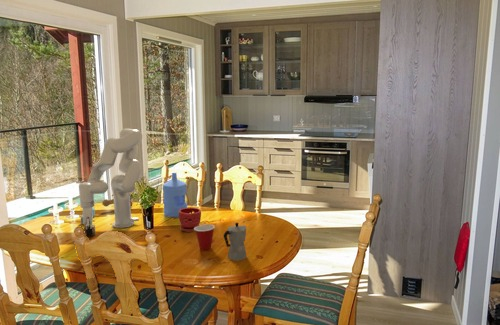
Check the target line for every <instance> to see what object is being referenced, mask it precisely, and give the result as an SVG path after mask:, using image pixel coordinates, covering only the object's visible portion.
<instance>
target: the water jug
mask: <svg viewBox="0 0 500 325" xmlns="http://www.w3.org/2000/svg"><path fill="white" fill-rule="evenodd" d="M177 177H178V175H177V172H172V173H171V179H169V180H168V181H167V182H164V183H162V194H163V195H162V197H163V198H162V199H163V200H162V201H163V215H164V217H168V218H179V210H181V209H184V208H188V202H186V195H187V194H188V191H187V188H188V186H187V183H186V182H185V181H182V180H180V179H178V178H177Z"/></svg>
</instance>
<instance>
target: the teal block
mask: <svg viewBox="0 0 500 325" xmlns="http://www.w3.org/2000/svg"><path fill="white" fill-rule="evenodd" d="M92 208H93V218H95V217H96V216H95V215H96V211H95V209H96V208H95V206H94V207H92Z"/></svg>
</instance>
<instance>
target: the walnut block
mask: <svg viewBox="0 0 500 325" xmlns="http://www.w3.org/2000/svg"><path fill="white" fill-rule="evenodd" d="M89 226H90V225H89ZM83 228H84V229H83V232H84V231H85V234H86V225H83ZM91 229H92V236H96V224H92V225H91Z"/></svg>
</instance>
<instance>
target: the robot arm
mask: <svg viewBox="0 0 500 325" xmlns="http://www.w3.org/2000/svg"><path fill="white" fill-rule="evenodd" d="M142 140H143V134H142V132H141V131H140V130H138V129H135V128H134V129H132V128H122V129H121V130H120V132H119V137H109V138H107V139H106V141H105V144H104V147H103V150H102V152H101V155H100V158H99V160H98V162H97V163H96V165H94V166H93V168H92V169H91V171H90V173H89V176H88V179H87V181H84V182H80V183H79V184H78V192H79V204H80V208H81V209H82V215H83V224H84V225H83V226H86V235H87V236H86V237H91V236H93V235H92V229H91V225H93V222H94V221H93V220H94V217H93V207H94V208H95V195H101V194H104V193H106V192H107V191H108V189H109V184H108V183H107V182H106V181H104V180H102V177H103V174H105V173H106V171H107V170H109V169H111V168H113V167H114V166H115V164H116V160H117V157H118V154H122V155H121V159H120V161H119V163H118V170H119V171H120V172H121V173H123V174H116V175H114V176H113V177H112V178H111V181H110V186H111V190H112V195H113V196H112V197H113V199H114V204H113V209H114V212H113V213H114V222H113V223H112V227H114V228H117V229H123V228H130V227H132V226H134V224H135V222H139V221H140V218H139V217H132V213H131V207H130V195H131V193H133V192H134V191H135V190H136V188H135V187H134V186H135V182H136V181H138V182H139V180H140V177H141V175H142V171H143V165H142V163H141V162H140V161H139V160H137V158H138V155H139V154H138V153H139V146H138V144H140V143H141V141H142ZM129 194H130V195H129ZM85 224H86V225H85ZM89 225H90V226H89Z"/></svg>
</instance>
